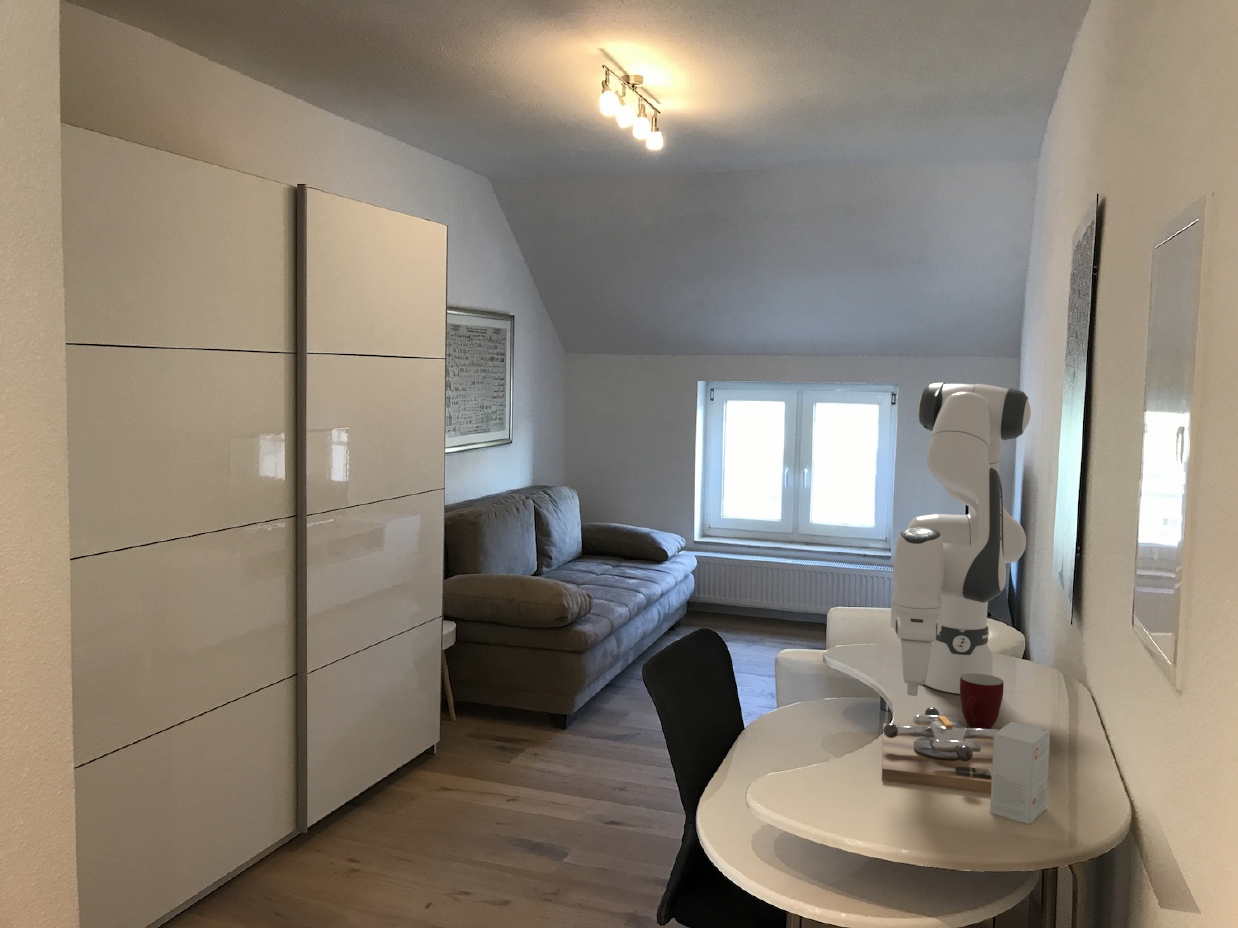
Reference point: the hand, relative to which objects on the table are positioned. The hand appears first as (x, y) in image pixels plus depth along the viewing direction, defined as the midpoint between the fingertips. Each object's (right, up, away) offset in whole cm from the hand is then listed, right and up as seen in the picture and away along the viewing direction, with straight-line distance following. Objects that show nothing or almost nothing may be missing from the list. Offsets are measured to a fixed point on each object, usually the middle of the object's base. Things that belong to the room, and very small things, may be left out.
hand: (912, 693), depth 180 cm
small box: (+10, -14, -22) cm, 28 cm away
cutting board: (+5, -12, -2) cm, 13 cm away
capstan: (+5, -10, -2) cm, 11 cm away
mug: (+17, -11, +15) cm, 26 cm away
